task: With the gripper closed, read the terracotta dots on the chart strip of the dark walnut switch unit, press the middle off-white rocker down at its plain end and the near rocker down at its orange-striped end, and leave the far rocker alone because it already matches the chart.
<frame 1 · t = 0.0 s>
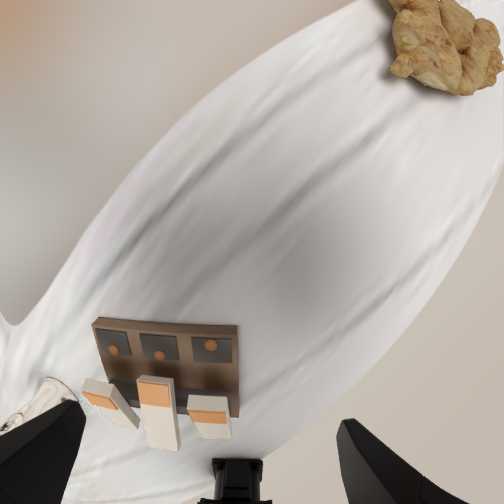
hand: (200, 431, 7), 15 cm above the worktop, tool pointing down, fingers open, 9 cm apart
ginger root: (426, 45, 16), on the worktop
middle rocker: (159, 415, 19), point 5 cm above the worktop, hinge at 18.0°
switch unit: (169, 368, 24), on the worktop
beer glass: (61, 394, 26), on the worktop
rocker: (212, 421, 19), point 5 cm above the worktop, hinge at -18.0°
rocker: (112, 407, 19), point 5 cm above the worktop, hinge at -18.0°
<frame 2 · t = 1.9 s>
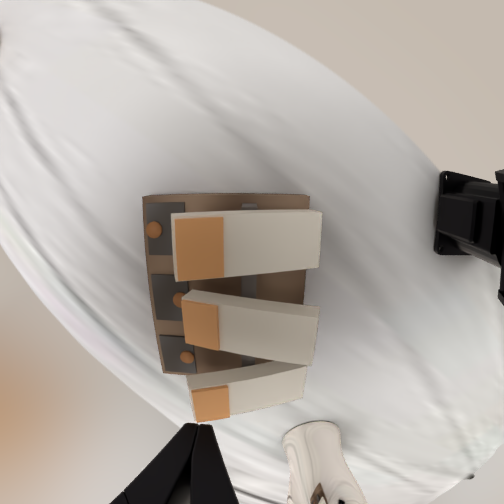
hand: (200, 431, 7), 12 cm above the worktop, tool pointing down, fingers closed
middle rocker: (247, 328, 14), point 5 cm above the worktop, hinge at 18.0°
switch unit: (226, 290, 19), on the worktop
beer glass: (311, 436, 23), on the worktop
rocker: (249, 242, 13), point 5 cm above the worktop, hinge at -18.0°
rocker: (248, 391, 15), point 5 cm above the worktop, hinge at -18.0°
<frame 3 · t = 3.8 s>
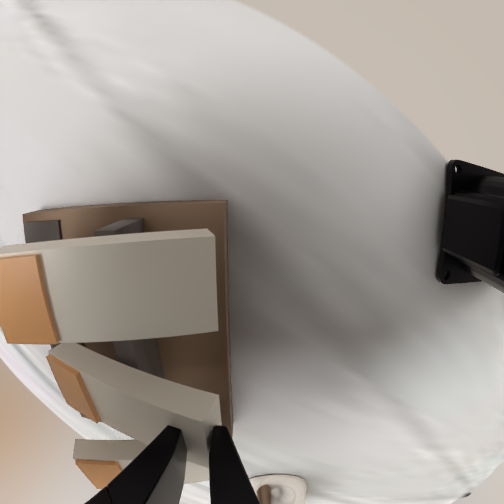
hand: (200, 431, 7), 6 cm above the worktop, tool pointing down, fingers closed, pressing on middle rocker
middle rocker: (124, 404, 8), point 5 cm above the worktop, hinge at 17.3°, touching gripper
switch unit: (132, 332, 13), on the worktop
beer glass: (271, 486, 18), on the worktop
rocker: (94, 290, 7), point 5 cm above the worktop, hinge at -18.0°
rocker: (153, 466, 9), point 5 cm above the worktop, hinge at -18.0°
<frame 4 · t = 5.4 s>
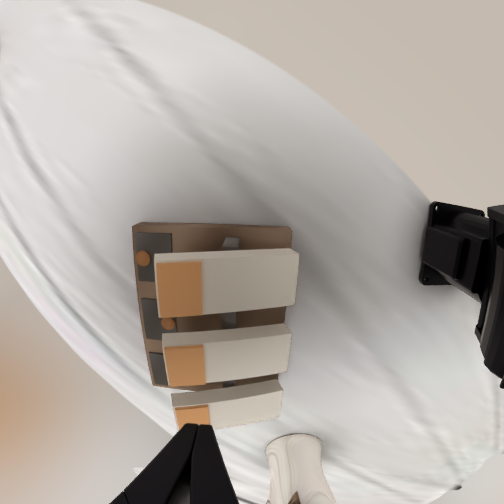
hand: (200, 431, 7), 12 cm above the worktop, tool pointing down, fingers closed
middle rocker: (227, 356, 15), point 5 cm above the worktop, hinge at -16.0°
switch unit: (212, 313, 20), on the worktop
beer glass: (293, 447, 24), on the worktop
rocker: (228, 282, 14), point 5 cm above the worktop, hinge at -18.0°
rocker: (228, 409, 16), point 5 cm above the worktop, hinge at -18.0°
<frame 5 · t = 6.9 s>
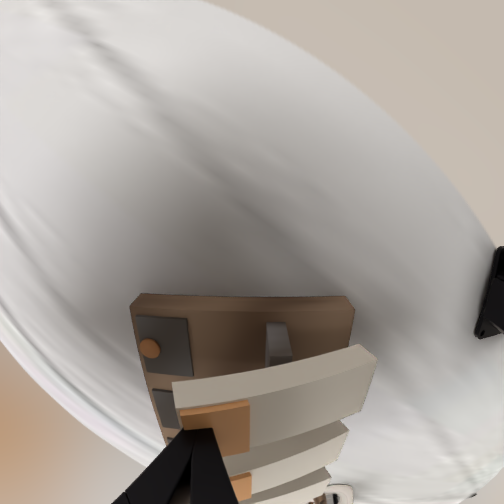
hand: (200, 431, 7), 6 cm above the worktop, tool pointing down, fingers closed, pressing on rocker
middle rocker: (274, 467, 10), point 5 cm above the worktop, hinge at -22.2°
switch unit: (242, 396, 15), on the worktop
beer glass: (323, 494, 19), on the worktop
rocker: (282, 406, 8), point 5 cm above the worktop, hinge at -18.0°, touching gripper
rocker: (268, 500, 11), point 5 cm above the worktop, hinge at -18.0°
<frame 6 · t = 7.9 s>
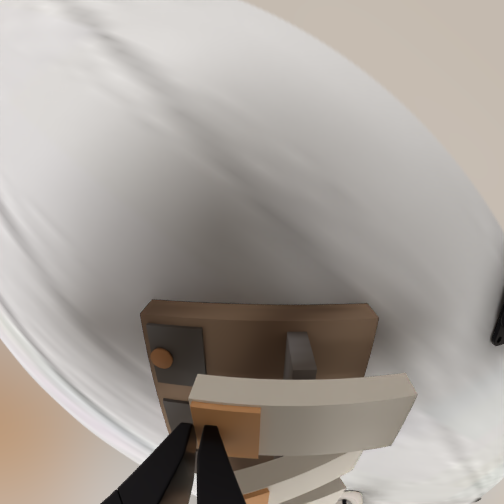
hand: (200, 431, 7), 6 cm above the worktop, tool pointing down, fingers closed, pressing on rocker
middle rocker: (290, 480, 9), point 5 cm above the worktop, hinge at -23.5°
switch unit: (257, 406, 14), on the worktop
beer glass: (332, 500, 18), on the worktop
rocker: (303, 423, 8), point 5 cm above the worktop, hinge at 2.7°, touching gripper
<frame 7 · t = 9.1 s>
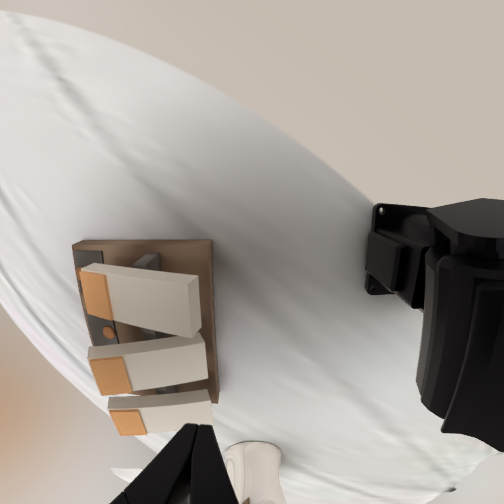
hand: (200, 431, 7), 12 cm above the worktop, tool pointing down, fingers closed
middle rocker: (148, 366, 15), point 5 cm above the worktop, hinge at -24.1°
switch unit: (150, 324, 20), on the worktop
beer glass: (253, 453, 24), on the worktop
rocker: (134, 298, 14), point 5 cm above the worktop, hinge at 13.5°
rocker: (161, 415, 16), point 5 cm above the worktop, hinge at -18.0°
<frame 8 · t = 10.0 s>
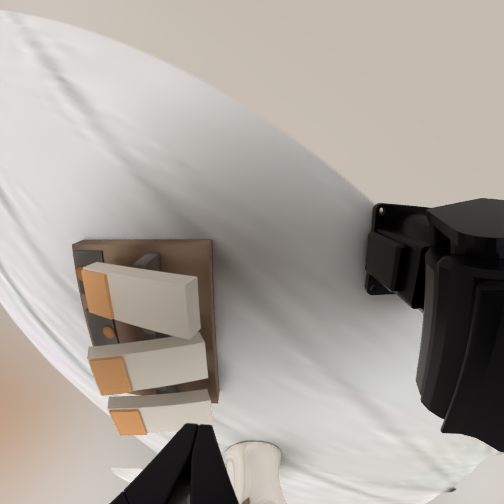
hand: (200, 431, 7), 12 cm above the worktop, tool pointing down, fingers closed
middle rocker: (148, 366, 15), point 5 cm above the worktop, hinge at -24.2°
switch unit: (150, 324, 20), on the worktop
beer glass: (253, 453, 24), on the worktop
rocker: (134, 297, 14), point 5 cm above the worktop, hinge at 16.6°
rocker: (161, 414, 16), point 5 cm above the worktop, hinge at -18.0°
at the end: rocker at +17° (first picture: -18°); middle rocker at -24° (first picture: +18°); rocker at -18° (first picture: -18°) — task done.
